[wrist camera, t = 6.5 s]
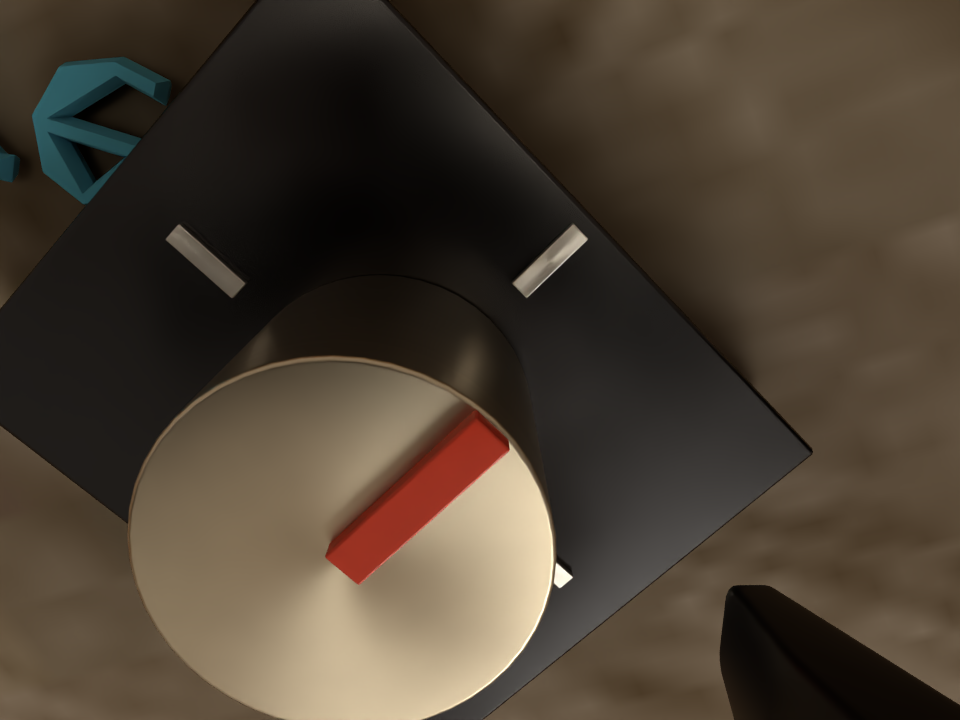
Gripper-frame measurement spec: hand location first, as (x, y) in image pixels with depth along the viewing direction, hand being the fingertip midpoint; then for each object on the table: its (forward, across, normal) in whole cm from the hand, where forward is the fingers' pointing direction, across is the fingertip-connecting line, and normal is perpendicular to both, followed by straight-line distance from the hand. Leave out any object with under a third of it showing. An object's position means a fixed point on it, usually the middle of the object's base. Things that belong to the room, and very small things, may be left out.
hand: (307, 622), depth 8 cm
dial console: (+9, 0, 0) cm, 9 cm away
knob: (+6, 0, 0) cm, 6 cm away
